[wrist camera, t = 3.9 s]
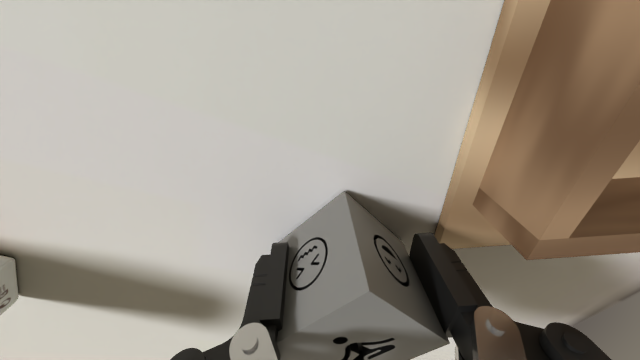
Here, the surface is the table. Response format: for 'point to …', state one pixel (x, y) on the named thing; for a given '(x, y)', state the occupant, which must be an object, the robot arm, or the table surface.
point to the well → (553, 135)
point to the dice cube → (353, 291)
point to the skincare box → (7, 283)
